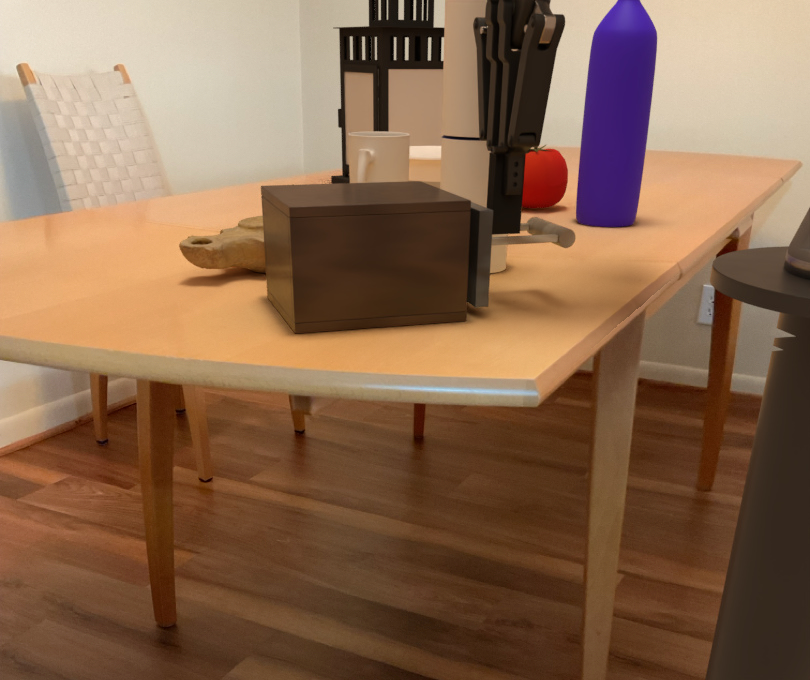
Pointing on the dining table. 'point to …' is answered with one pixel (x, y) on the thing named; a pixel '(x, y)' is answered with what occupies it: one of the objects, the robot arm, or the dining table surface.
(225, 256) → the oil lamp
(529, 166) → the tomato
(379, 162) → the mug
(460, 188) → the cylindrical container
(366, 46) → the lantern
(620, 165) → the bottle
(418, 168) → the bowl
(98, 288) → the dining table surface
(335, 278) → the cabinet
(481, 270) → the drawer
